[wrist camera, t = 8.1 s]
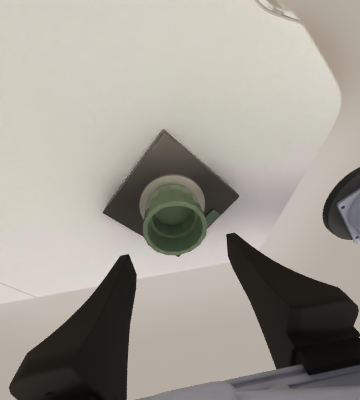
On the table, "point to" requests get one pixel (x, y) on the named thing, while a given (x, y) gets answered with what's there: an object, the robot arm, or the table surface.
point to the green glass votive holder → (173, 220)
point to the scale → (164, 175)
